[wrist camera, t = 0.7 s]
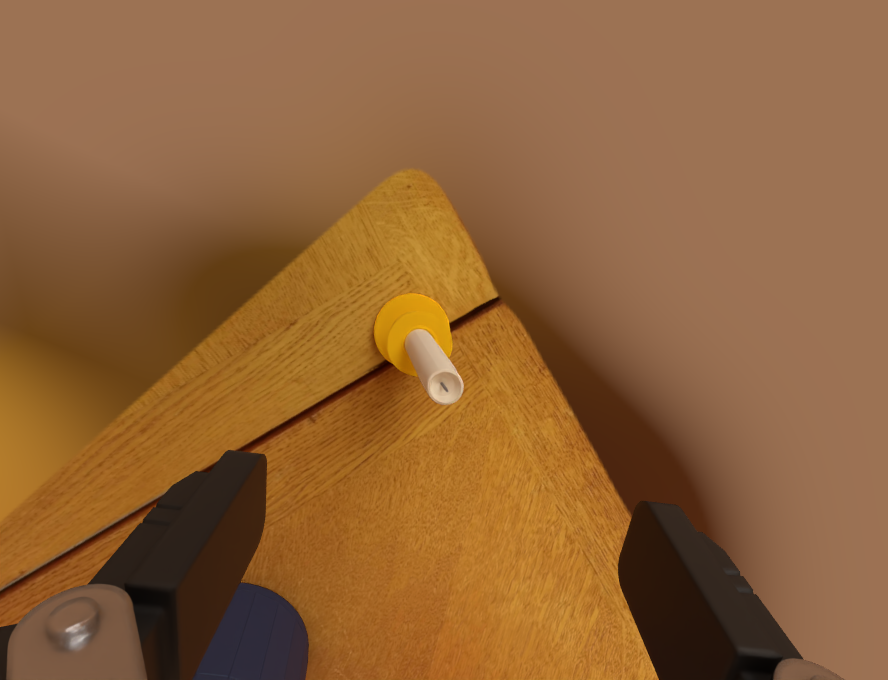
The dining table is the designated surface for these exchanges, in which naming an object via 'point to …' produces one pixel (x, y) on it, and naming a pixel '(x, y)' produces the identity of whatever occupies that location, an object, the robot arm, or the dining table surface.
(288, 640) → the navy blue cup
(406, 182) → the dining table surface
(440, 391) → the candle
